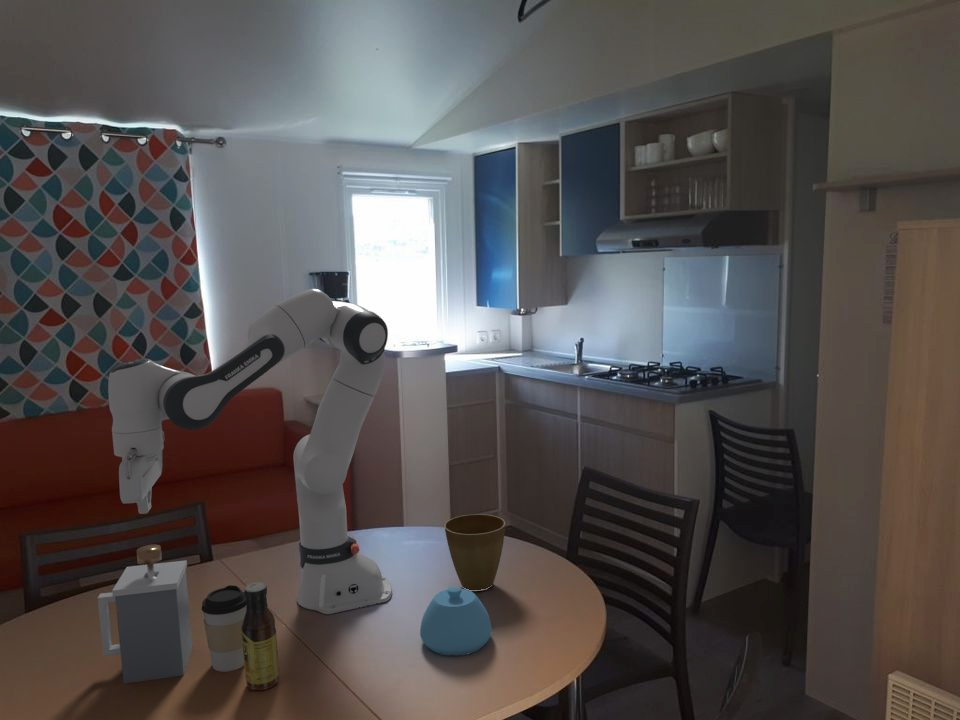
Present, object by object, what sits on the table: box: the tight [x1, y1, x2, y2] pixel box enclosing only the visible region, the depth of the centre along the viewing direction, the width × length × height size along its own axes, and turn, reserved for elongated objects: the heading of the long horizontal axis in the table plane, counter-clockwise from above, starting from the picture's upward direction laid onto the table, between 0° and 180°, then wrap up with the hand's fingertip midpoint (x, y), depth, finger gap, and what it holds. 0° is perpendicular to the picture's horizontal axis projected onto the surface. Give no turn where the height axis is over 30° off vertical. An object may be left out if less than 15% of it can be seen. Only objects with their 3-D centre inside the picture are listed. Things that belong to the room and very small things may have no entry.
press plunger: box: [136, 544, 163, 578], centre depth 149 cm, size 4×4×21 cm
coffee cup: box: [201, 584, 247, 673], centre depth 150 cm, size 9×9×15 cm
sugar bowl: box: [419, 586, 493, 656], centre depth 156 cm, size 15×15×12 cm
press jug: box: [97, 560, 193, 685], centre depth 149 cm, size 16×12×19 cm
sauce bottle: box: [241, 581, 280, 691], centre depth 142 cm, size 7×6×20 cm
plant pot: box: [443, 513, 506, 590], centre depth 182 cm, size 15×15×16 cm
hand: (145, 511), depth 147 cm, fingers closed
